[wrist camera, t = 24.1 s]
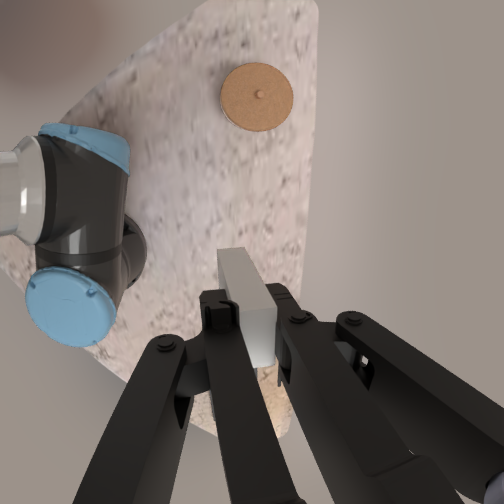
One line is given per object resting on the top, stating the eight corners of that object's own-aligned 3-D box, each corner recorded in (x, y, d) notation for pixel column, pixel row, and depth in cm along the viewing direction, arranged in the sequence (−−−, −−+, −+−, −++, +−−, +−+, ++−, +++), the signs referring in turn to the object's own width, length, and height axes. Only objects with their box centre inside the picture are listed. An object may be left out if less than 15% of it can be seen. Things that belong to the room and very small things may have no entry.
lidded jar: (205, 117, 47) (208, 111, 38) (233, 63, 44) (242, 47, 36) (262, 143, 50) (278, 143, 41) (288, 91, 48) (308, 81, 39)
